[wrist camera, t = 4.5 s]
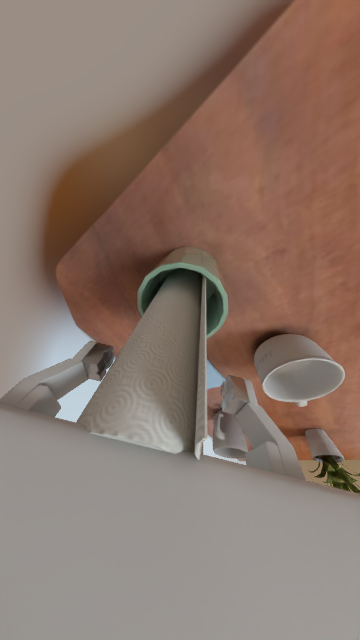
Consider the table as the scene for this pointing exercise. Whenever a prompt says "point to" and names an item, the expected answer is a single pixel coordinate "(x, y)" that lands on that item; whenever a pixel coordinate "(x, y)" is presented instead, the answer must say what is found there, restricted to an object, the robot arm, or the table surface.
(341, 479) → the house plant
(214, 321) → the sage green pencil cup
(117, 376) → the paper towel roll
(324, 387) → the teacup
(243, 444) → the mug
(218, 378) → the mat
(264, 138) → the table surface
